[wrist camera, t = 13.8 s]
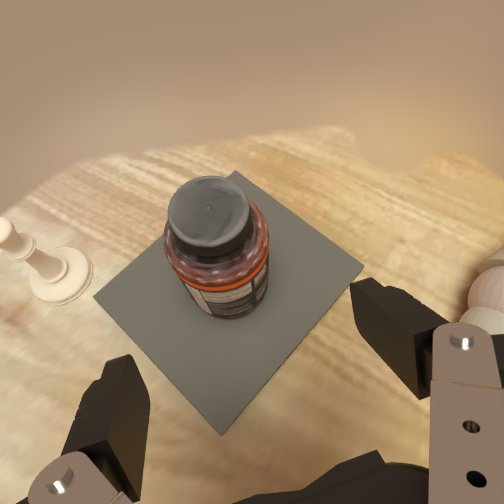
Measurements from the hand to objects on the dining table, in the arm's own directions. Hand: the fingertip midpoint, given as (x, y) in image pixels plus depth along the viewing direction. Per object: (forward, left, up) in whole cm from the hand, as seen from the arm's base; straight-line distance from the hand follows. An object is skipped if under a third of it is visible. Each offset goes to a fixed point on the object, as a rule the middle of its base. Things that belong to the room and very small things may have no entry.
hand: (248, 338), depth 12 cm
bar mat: (+4, +6, -14) cm, 16 cm away
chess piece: (-5, +17, -14) cm, 23 cm away
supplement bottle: (+3, +6, -13) cm, 15 cm away
